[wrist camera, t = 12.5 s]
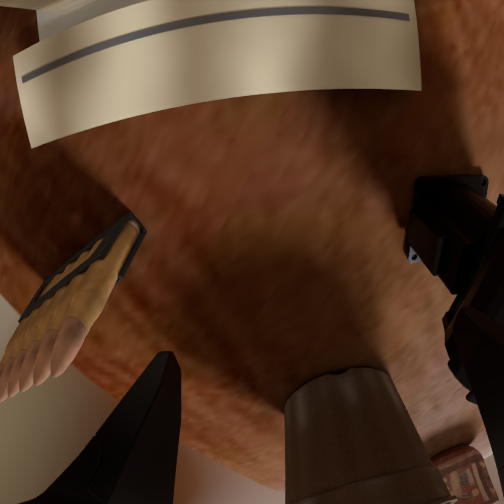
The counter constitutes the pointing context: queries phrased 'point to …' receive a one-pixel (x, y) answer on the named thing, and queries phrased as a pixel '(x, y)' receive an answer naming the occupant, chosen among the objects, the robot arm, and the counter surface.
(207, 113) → the counter surface
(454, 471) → the pottery
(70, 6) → the maple block
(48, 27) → the grey end pad
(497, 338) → the robot arm
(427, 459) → the plant pot
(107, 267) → the ammunition clip
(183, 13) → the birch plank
